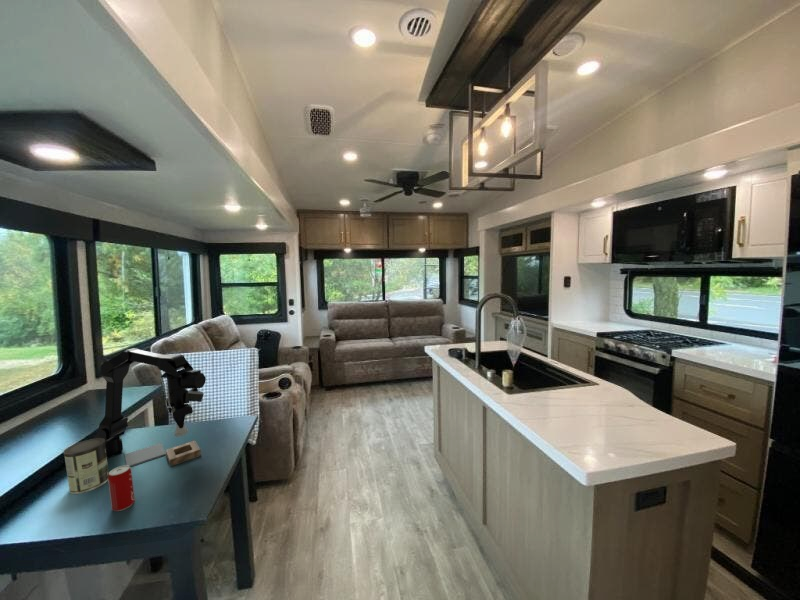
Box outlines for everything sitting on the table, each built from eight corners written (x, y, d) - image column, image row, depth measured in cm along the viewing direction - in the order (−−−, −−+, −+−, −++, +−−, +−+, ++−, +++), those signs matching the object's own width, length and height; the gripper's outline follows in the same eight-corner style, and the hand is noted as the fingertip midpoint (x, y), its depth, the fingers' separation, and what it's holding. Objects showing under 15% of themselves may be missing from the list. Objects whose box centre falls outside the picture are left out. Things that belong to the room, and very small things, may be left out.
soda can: (136, 505, 101) (132, 468, 100) (113, 515, 98) (108, 476, 96) (133, 497, 105) (129, 461, 104) (111, 506, 101) (106, 469, 100)
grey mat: (126, 468, 122) (126, 466, 122) (124, 455, 131) (124, 454, 131) (165, 455, 130) (165, 453, 130) (161, 444, 139) (161, 442, 139)
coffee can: (98, 473, 119) (93, 436, 118) (116, 477, 116) (112, 439, 115) (61, 491, 110) (55, 451, 108) (80, 497, 106) (75, 455, 105)
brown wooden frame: (170, 466, 122) (169, 460, 122) (166, 456, 129) (165, 449, 129) (201, 455, 129) (200, 449, 128) (195, 446, 136) (194, 440, 136)
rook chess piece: (178, 431, 130) (176, 412, 129) (190, 430, 130) (188, 411, 130) (171, 437, 126) (169, 417, 125) (184, 436, 126) (182, 416, 125)
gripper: (206, 388, 125) (209, 427, 126) (195, 377, 139) (198, 413, 140) (171, 396, 118) (175, 437, 119) (163, 384, 131) (167, 421, 133)
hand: (180, 426), depth 128 cm, fingers closed on rook chess piece, 3 cm apart
